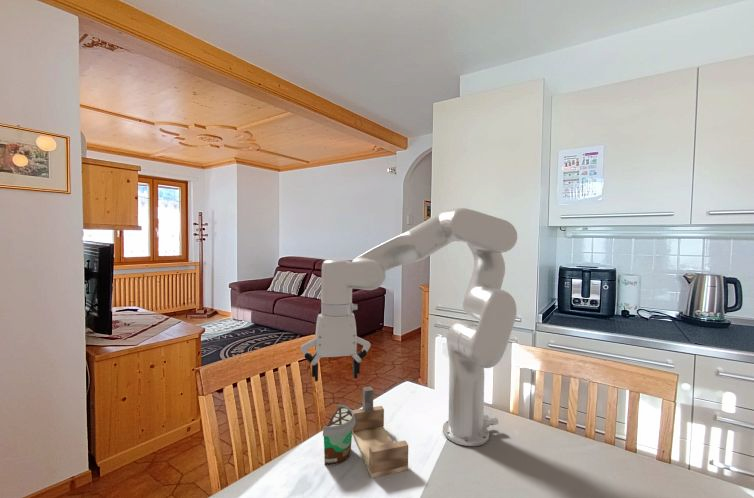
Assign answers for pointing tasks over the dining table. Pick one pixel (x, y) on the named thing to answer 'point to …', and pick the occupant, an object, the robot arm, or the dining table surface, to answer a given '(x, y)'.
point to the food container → (338, 436)
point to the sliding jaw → (368, 413)
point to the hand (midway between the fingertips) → (335, 377)
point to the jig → (381, 451)
